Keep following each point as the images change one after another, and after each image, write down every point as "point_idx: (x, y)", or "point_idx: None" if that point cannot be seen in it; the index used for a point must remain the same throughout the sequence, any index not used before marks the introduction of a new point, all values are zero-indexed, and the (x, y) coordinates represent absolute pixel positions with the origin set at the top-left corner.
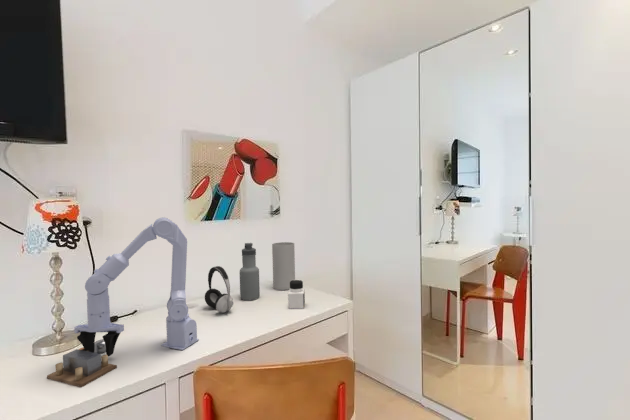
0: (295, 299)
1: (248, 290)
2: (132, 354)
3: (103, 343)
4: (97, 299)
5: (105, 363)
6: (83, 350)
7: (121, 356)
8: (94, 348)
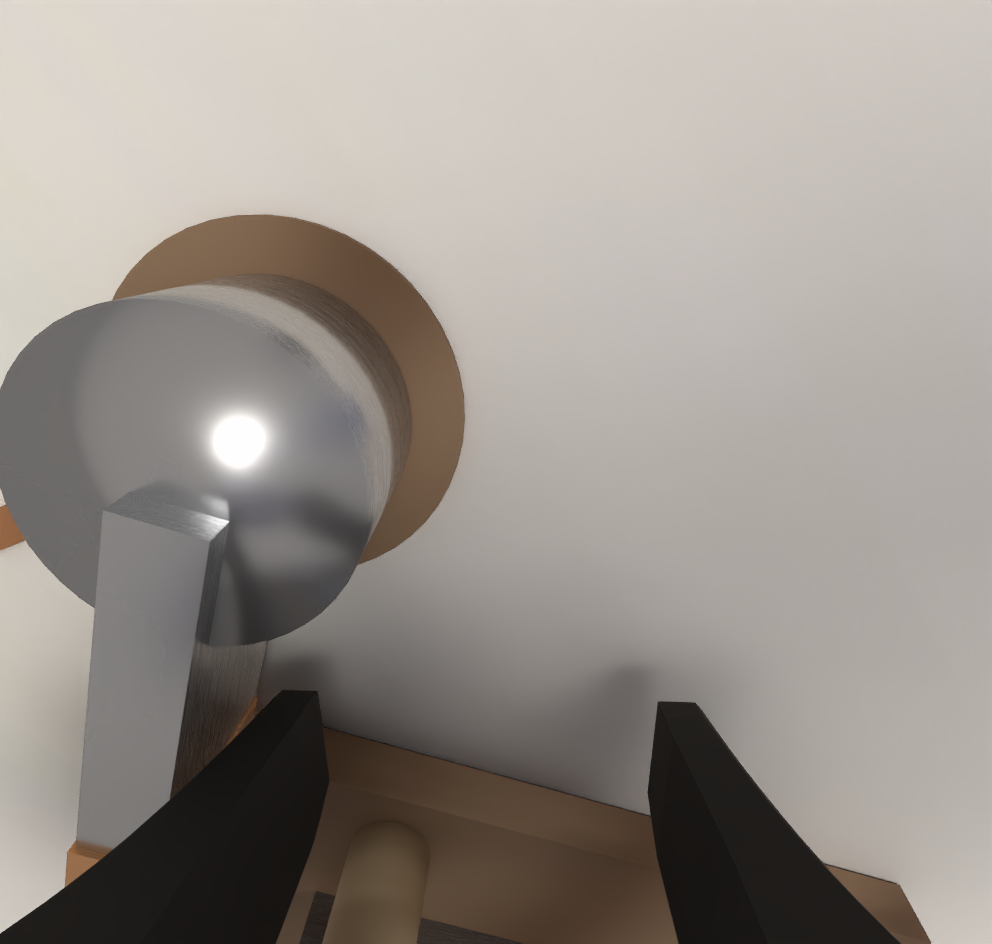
0: None
1: None
2: (961, 520)
3: (318, 592)
4: None
5: None
6: None
7: (780, 581)
8: (283, 739)
